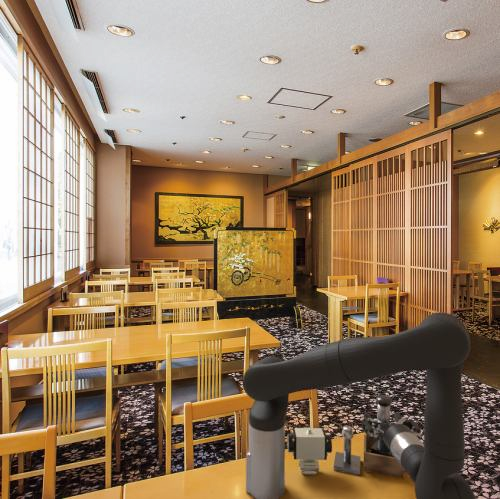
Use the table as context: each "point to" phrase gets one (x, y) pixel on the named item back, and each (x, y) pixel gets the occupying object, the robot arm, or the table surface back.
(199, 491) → the table surface
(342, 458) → the stud mount
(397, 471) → the bin
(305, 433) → the pneumatic rotary actuator
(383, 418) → the strut
